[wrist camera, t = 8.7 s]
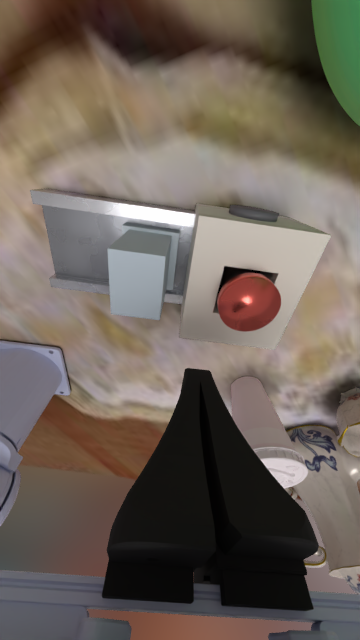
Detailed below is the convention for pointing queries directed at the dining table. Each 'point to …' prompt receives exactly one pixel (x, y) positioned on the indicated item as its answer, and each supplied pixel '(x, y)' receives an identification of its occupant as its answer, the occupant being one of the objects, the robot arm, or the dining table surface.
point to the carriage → (142, 269)
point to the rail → (103, 236)
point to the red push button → (247, 299)
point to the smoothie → (266, 431)
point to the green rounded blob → (340, 49)
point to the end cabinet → (248, 253)
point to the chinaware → (333, 487)
